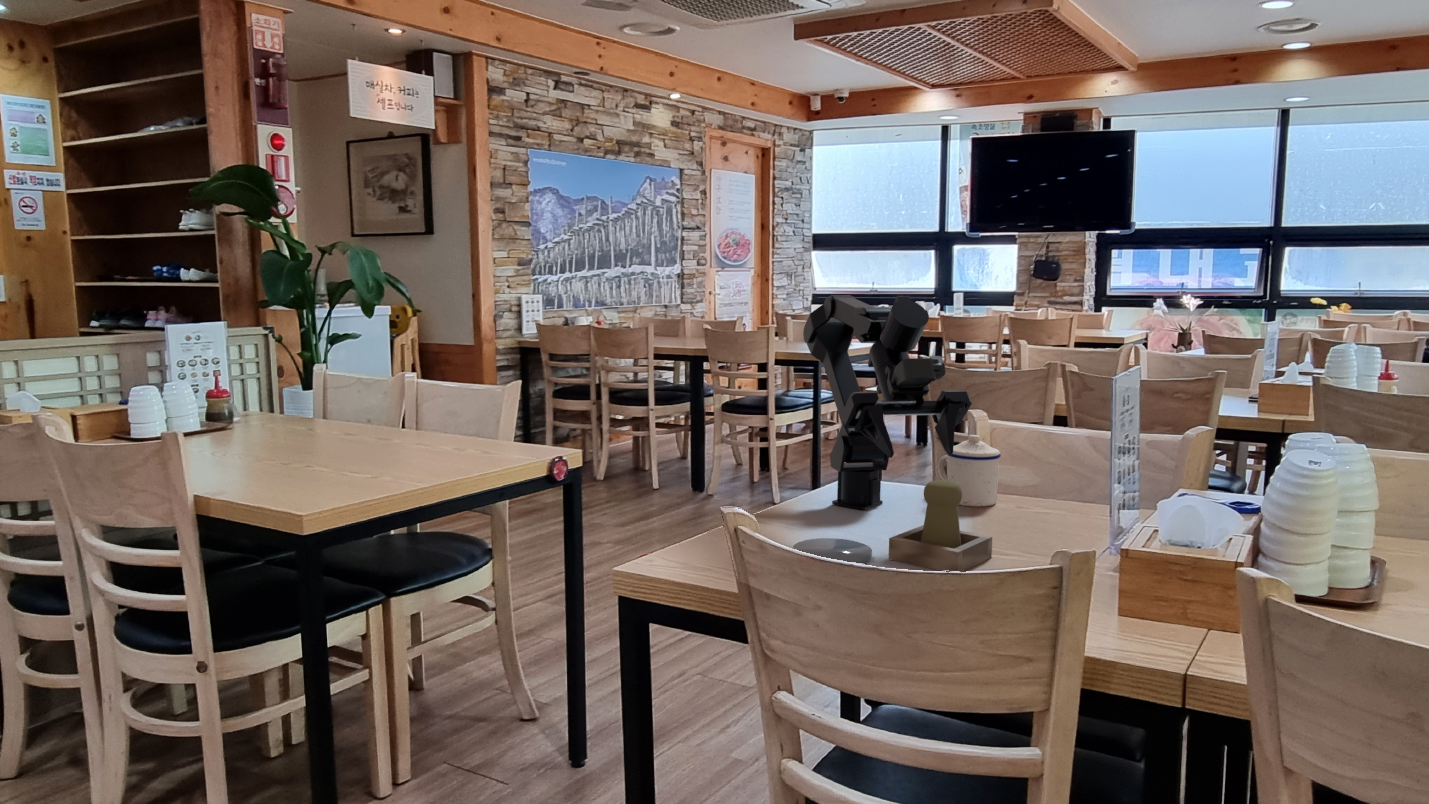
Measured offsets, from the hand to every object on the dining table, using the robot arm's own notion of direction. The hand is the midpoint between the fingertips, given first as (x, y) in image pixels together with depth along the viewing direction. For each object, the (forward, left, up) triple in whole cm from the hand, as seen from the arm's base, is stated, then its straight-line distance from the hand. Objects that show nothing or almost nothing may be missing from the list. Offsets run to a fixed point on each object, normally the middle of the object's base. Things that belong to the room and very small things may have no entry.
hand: (921, 455), depth 146 cm
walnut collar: (+6, -5, -13) cm, 15 cm away
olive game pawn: (+6, -5, -13) cm, 15 cm away
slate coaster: (-6, -14, -13) cm, 20 cm away
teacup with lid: (-8, +31, -13) cm, 35 cm away
